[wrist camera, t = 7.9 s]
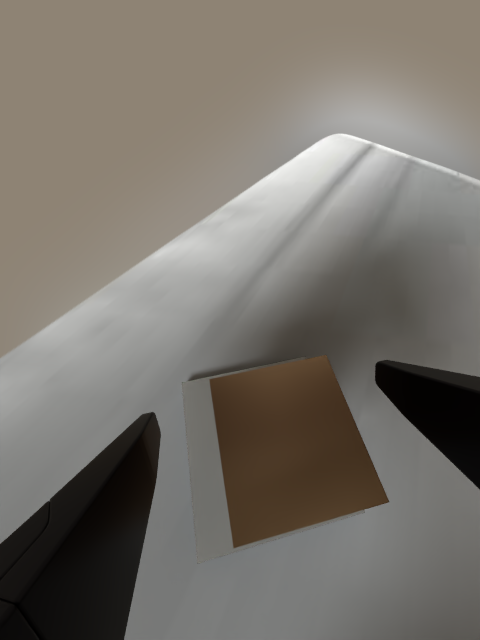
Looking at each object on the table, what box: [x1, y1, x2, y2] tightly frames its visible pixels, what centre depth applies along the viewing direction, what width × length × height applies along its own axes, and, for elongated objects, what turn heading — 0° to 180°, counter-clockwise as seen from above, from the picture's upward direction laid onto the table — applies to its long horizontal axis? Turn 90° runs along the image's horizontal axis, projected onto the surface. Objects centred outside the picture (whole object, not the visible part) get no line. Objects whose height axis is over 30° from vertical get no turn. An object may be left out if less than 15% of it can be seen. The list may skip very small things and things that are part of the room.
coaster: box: [182, 357, 365, 564], centre depth 15 cm, size 10×10×1 cm
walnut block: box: [209, 355, 389, 548], centre depth 11 cm, size 4×4×9 cm
